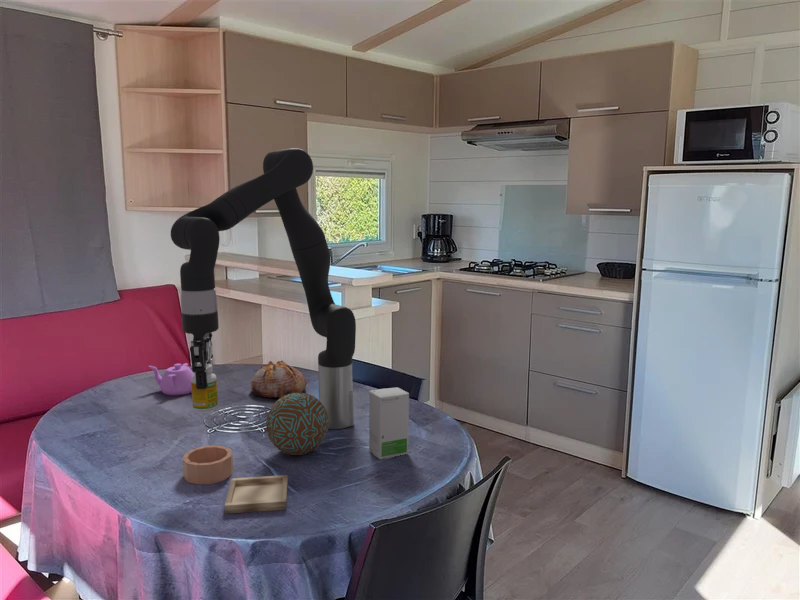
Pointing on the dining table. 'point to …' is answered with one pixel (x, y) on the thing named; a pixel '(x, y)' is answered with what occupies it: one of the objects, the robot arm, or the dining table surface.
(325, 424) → the decorative sphere
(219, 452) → the holder ring
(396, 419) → the skincare box
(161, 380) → the teapot
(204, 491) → the dining table surface
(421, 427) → the dining table surface
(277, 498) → the tray
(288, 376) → the bread
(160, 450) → the dining table surface
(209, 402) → the supplement bottle
